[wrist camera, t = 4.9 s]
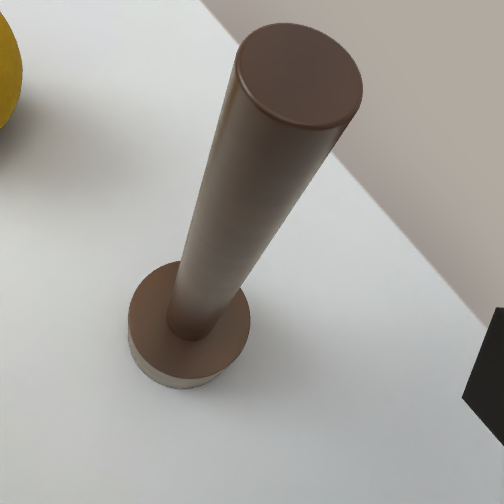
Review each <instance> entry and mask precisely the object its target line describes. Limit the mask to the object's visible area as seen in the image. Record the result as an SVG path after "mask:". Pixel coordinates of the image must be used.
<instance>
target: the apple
mask: <svg viewBox="0 0 504 504" xmlns="http://www.w3.org/2000/svg"><path fill="white" fill-rule="evenodd" d="M22 72H23V69H22V60H21V56H20V52H19V48H18V45H17V42H16V39H15V37H14V34H13V32H12V30H11V28H10V26H9V24H8V22H7V21H6V19H5V18H4V16H3V15H2V14H1V12H0V129H1V128H2V127H3V126H4V125H5V124H6V122H7V121H8V120H9V118H10V117H11V115H12V113H13V111H14V109H15V106H16V104H17V102H18V99H19V96H20V92H21V84H22Z"/></svg>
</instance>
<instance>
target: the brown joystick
mask: <svg viewBox="0 0 504 504" xmlns="http://www.w3.org/2000/svg"><path fill="white" fill-rule="evenodd" d="M362 93H363V84H362V78H361V74H360V72H359V69H358V67H357V66H356V63H355V61H354V60H353V59H352V57H351V56H350V55H349V53H348V52H347V51H346V50H345V49H344V48H343V47H342V46H341V45H340V44H339V43H337V42H336V41H335V40H333V39H332V38H331V37H329V36H328V35H326V34H324V33H322V32H320V31H318V30H316V29H313V28H311V27H307V26H304V25H299V24H293V23H275V24H270V25H266V26H263V27H261V28H259V29H257V30H255V31H253V32H252V33H251V34H250V35H249V36H248V37H247V38H246V39H245V40H244V41H243V42H242V43H241V45H240V47H239V48H238V51H237V53H236V57H235V61H234V64H233V68H232V72H231V76H230V79H229V83H228V87H227V90H226V94H225V98H224V102H223V105H222V109H221V113H220V117H219V120H218V124H217V128H216V131H215V135H214V139H213V143H212V146H211V150H210V154H209V157H208V161H207V165H206V169H205V172H204V176H203V180H202V183H201V187H200V191H199V195H198V198H197V202H196V206H195V209H194V213H193V217H192V221H191V224H190V228H189V232H188V235H187V239H186V243H185V247H184V250H183V254H182V258H181V261H176V262H172V263H169V264H166V265H164V266H161V267H160V268H158V269H156V270H154V271H153V272H152V273H150V274H149V275H148V276H147V277H146V278H145V279H144V280H143V281H142V282H141V284H140V285H139V286H138V288H137V289H136V291H135V293H134V295H133V297H132V300H131V303H130V307H129V314H128V341H129V347H130V350H131V354H132V356H133V358H134V360H135V362H136V363H137V365H138V367H139V368H140V369H141V370H142V371H143V372H144V373H145V374H146V375H147V376H148V377H149V378H151V379H152V380H154V381H155V382H157V383H160V384H162V385H165V386H168V387H172V388H183V389H184V388H192V387H197V386H200V385H203V384H205V383H207V382H209V381H211V380H212V379H214V378H215V377H216V376H218V375H219V374H220V373H221V372H222V371H223V370H224V369H226V368H227V367H228V366H229V365H230V364H231V363H232V362H233V361H234V360H235V359H236V358H237V357H238V355H239V354H240V353H241V351H242V349H243V348H244V346H245V343H246V341H247V338H248V334H249V329H250V311H249V307H248V303H247V300H246V297H245V295H244V293H243V291H242V290H241V288H240V287H241V285H242V284H243V282H244V281H245V279H246V278H247V276H248V275H249V273H250V272H251V270H252V268H253V267H254V265H255V264H256V262H257V261H258V259H259V258H260V256H261V255H262V253H263V252H264V250H265V249H266V247H267V246H268V244H269V243H270V241H271V240H272V238H273V237H274V235H275V234H276V232H277V231H278V229H279V228H280V226H281V225H282V223H283V222H284V220H285V219H286V217H287V216H288V214H289V213H290V211H291V210H292V208H293V207H294V205H295V204H296V202H297V201H298V199H299V198H300V196H301V195H302V193H303V192H304V190H305V189H306V187H307V186H308V184H309V183H310V181H311V180H312V178H313V177H314V175H315V174H316V172H317V171H318V169H319V168H320V166H321V165H322V163H323V162H324V160H325V159H326V157H327V156H328V154H329V153H330V151H331V150H332V148H333V147H334V145H335V144H336V142H337V141H338V139H339V137H340V136H341V135H342V133H343V132H344V130H345V129H346V127H347V126H348V124H349V123H350V121H351V120H352V118H353V117H354V115H355V114H356V112H357V111H358V109H359V107H360V104H361V101H362Z"/></svg>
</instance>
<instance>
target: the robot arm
mask: <svg viewBox="0 0 504 504" xmlns="http://www.w3.org/2000/svg"><path fill="white" fill-rule="evenodd" d="M462 399H463V400H464V401H465V402H466V403H467V404H468V406H469V407H470V408H471V409H472V410H473V411H474V412H475V414H476V415H477V416H478V417H479V418H480V419H481V421H482V422H483V423H484V424H485V425H486V426H487V427H488V429H489V430H490V431H491V432H492V433H493V434H494V435H495V437H496V438H497V439H498V440H499V441H500V442H501V443H502V445H503V446H504V308H499V307H497V308H496V309H495V312H494V314H493V317H492V320H491V322H490V325H489V328H488V330H487V333H486V335H485V338H484V341H483V343H482V346H481V348H480V351H479V354H478V356H477V359H476V361H475V364H474V367H473V369H472V372H471V375H470V377H469V380H468V382H467V385H466V388H465V390H464V393H463V395H462Z"/></svg>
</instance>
